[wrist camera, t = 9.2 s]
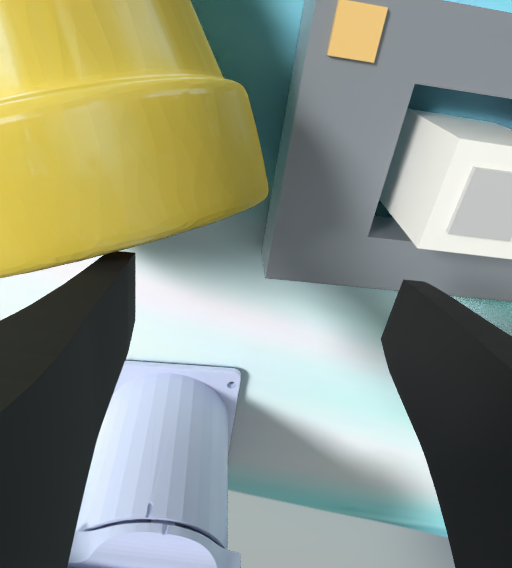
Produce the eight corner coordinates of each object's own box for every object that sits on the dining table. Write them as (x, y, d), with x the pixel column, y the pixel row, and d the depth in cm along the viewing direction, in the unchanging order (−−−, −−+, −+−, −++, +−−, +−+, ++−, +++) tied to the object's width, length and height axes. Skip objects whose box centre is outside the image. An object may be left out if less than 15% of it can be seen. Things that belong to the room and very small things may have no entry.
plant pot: (283, -226, 10) (342, 188, 13) (113, -29, 18) (172, 204, 21) (-450, -578, 4) (-60, 318, 7) (-233, -60, 12) (-87, 272, 15)
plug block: (458, 209, 21) (519, 262, 17) (378, 198, 20) (419, 250, 16) (494, 122, 19) (575, 157, 15) (406, 108, 18) (462, 140, 14)
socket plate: (523, 278, 23) (555, 307, 21) (261, 251, 22) (265, 280, 19) (650, 44, 18) (713, 49, 15) (307, -19, 16) (321, -23, 14)
